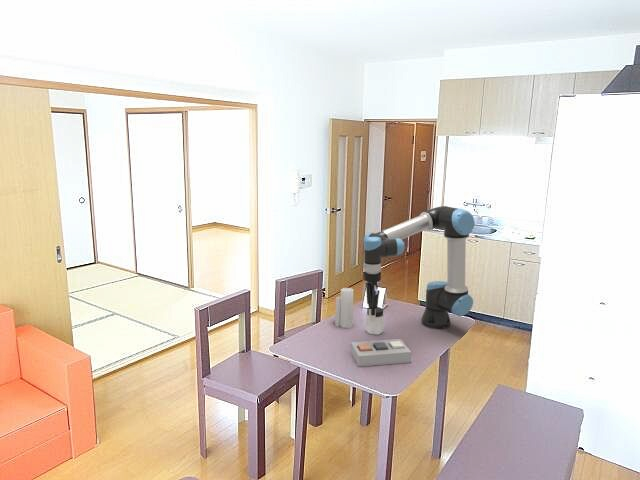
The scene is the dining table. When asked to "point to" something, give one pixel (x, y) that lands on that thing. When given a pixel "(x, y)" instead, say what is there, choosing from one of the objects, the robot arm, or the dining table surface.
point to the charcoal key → (380, 346)
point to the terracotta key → (364, 347)
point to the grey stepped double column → (344, 308)
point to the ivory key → (396, 345)
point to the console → (380, 354)
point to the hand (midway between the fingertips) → (372, 320)
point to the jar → (375, 322)
